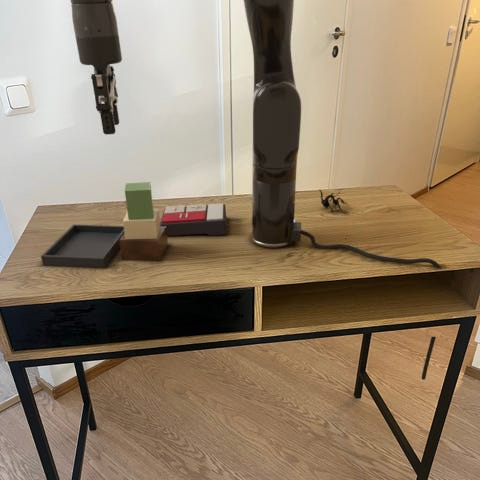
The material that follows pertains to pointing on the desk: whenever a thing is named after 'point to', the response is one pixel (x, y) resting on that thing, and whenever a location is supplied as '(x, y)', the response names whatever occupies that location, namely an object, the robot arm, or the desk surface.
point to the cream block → (142, 227)
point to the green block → (139, 200)
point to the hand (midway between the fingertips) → (112, 129)
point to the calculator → (195, 219)
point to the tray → (85, 246)
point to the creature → (326, 202)
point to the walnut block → (144, 247)
